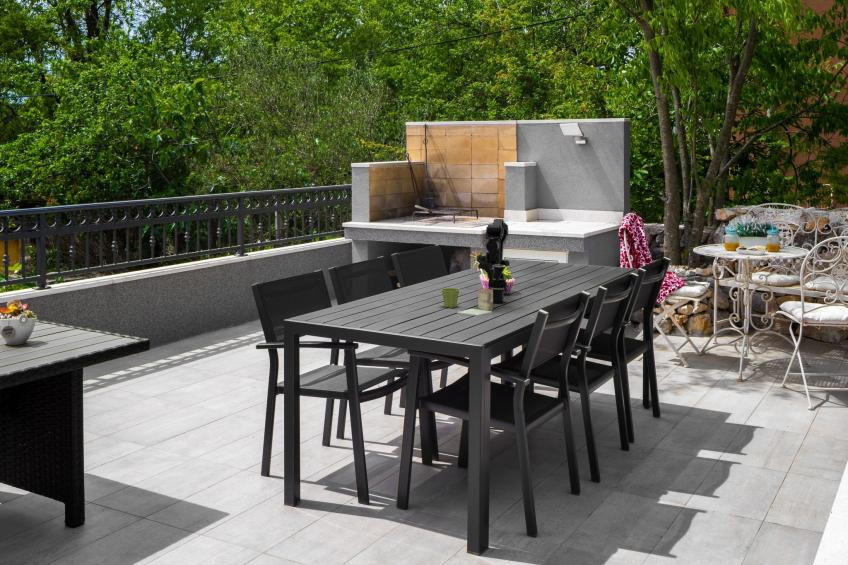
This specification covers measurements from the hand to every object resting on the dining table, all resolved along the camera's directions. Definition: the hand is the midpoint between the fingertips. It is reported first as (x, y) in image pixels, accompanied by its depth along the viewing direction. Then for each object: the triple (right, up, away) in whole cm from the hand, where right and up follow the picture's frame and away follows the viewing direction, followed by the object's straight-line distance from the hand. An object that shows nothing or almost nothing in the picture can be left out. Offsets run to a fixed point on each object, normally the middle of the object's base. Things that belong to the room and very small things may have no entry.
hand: (493, 281), depth 460 cm
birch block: (-4, -14, -3) cm, 15 cm away
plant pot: (-21, -13, +6) cm, 25 cm away
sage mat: (-10, -15, -10) cm, 21 cm away
